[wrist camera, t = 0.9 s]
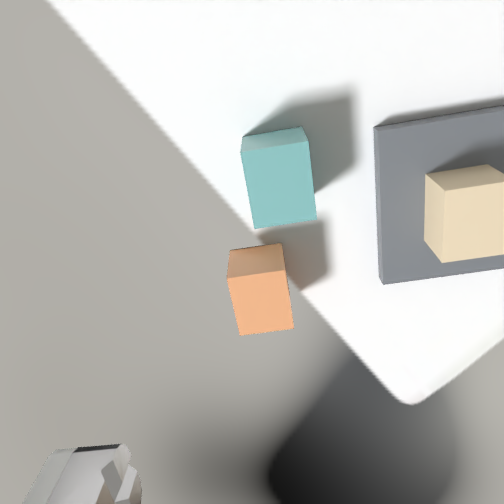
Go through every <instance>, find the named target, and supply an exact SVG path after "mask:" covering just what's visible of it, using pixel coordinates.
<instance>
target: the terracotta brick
mask: <svg viewBox="0 0 504 504" xmlns="http://www.w3.org/2000/svg"><path fill="white" fill-rule="evenodd" d="M227 282H228V286H229V290H230V294H231V299H232V303H233V307H234V312H235V315H236V320H237V324H238V329H239V333H240V336H241V335H248V334H255V333H264V332H271V331H279V330H286V329H294V324H293V317H292V309H291V301H290V294H289V288H288V281H287V274H286V268H285V261H284V255H283V249H282V243H277V244H270V245H260V246H255V247H247V248H241V249H234V250H230V254H229V263H228V272H227Z"/></svg>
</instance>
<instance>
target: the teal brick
mask: <svg viewBox="0 0 504 504" xmlns="http://www.w3.org/2000/svg"><path fill="white" fill-rule="evenodd" d="M240 153H241V158H242V164H243V169H244V174H245V180H246V185H247V191H248V196H249V201H250V207H251V212H252V218H253V223H254V228H255V229H257V228H264V227H270V226H277V225H284V224H290V223H297V222H303V221H310V220H317V215H316V206H315V197H314V188H313V179H312V169H311V160H310V151H309V142H308V139H307V137H306V135H305V132H304V130H303V128H302V127H296V128H290V129H285V130H279V131H273V132H267V133H261V134H255V135H250V136H244V137H242V144H241V152H240Z"/></svg>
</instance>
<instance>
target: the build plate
mask: <svg viewBox="0 0 504 504" xmlns="http://www.w3.org/2000/svg"><path fill="white" fill-rule="evenodd" d="M374 155H375V182H376V210H377V237H378V265H379V277H380V280H381V282H382V284H383V285H385V284H392V283H400V282H407V281H414V280H422V279H429V278H436V277H444V276H451V275H458V274H466V273H473V272H480V271H488V270H495V269H502V268H504V105H503V106H497V107H491V108H485V109H479V110H473V111H467V112H461V113H456V114H450V115H444V116H438V117H432V118H426V119H420V120H414V121H408V122H402V123H396V124H390V125H384V126H378V127H374Z"/></svg>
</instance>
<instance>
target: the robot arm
mask: <svg viewBox="0 0 504 504" xmlns="http://www.w3.org/2000/svg"><path fill="white" fill-rule="evenodd" d="M130 459H131V454H130V451H129V449H128V447H127V445H126V444H114V445H101V446H90V447H89V446H88V447H78V448H71V449H58V450H55V451H54V452H53V453H51V454H50V455H49V457H48V458H47V460H46V462H45V464H44V466H43V468H42V469H41V471H40V473H39V475H38V476H37V478H36V480H35V482H34V484H33V485H32V487H31V489H30V491H29V492H28V494H27V496H26V498H25V500H24V502H23V503H22V504H141V497H142V488H141V481H140V477H139V475H138V472H137V471H136V470H135V469H134V468H132V467H131V466H129V462H130Z"/></svg>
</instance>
